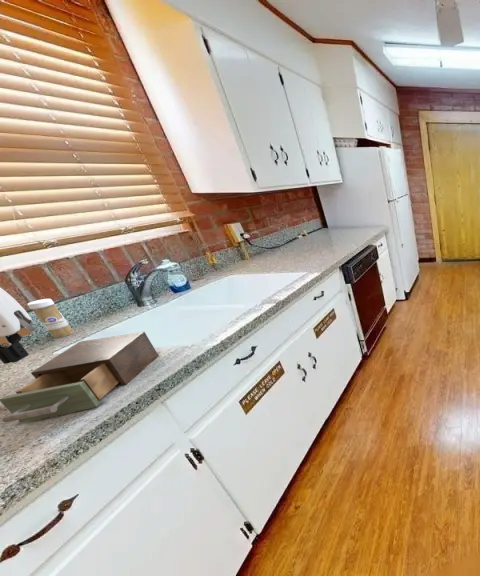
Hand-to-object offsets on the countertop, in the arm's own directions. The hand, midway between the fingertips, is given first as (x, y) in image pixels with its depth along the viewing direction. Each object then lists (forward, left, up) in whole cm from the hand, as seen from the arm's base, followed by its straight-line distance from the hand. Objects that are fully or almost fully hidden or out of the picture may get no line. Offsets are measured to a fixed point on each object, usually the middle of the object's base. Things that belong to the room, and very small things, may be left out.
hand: (17, 359), depth 68 cm
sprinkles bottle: (+15, +52, -15) cm, 56 cm away
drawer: (+2, -3, -14) cm, 15 cm away
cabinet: (+11, +5, -15) cm, 19 cm away
